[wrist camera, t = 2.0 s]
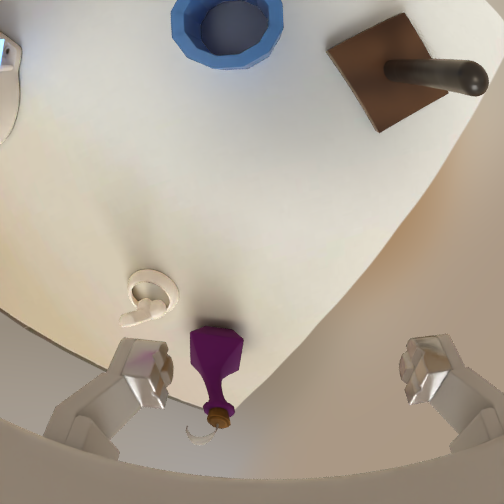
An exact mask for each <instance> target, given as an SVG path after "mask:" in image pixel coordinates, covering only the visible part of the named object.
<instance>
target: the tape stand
mask: <svg viewBox="0 0 504 504" xmlns="http://www.w3.org/2000/svg"><path fill="white" fill-rule="evenodd" d="M326 53H327V54H328V56H329V57H330V59H331V60H332V61H333V63H334V64H335V66H336V67H337V69H338V70H339V72H340V73H341V75H342V76H343V78H344V79H345V81H346V82H347V84H348V85H349V87H350V88H351V90H352V92H353V93H354V95H355V96H356V98H357V100H358V101H359V103H360V105H361V106H362V108H363V110H364V111H365V113H366V115H367V116H368V118H369V120H370V122H371V123H372V125H373V127H374V129H375V130H376V131H377V132H379V133H380V132H382V131H384V130H385V129H387V128H389V127H391V126H392V125H394V124H396V123H397V122H399V121H401V120H403V119H404V118H406V117H408V116H409V115H411V114H413V113H415V112H416V111H418V110H420V109H422V108H423V107H425V106H427V105H429V104H430V103H432V102H434V101H436V100H438V99H439V98H441V97H443V96H445V95H446V94H448V91H452V92H457V93H461V94H465V95H470V96H480V95H482V94H484V93H485V92H486V90H487V88H488V84H489V80H488V75H487V73H486V71H485V70H484V68H483V67H482V66H481V65H479V64H478V63H476V62H474V61H470V60H453V59H432V58H431V57H430V55H429V53H428V51H427V49H426V48H425V46H424V44H423V42H422V40H421V39H420V37H419V35H418V34H417V32H416V30H415V29H414V27H413V25H412V24H411V22H410V21H409V19H408V18H407V16H406V14H405V13H401V14H398V15H396V16H394V17H392V18H389V19H387V20H385V21H383V22H381V23H379V24H377V25H375V26H373V27H371V28H369V29H367V30H365V31H363V32H361V33H359V34H357V35H355V36H353V37H351V38H349V39H347V40H345V41H343V42H342V43H340V44H338V45H336V46H334V47H332V48H331V49H329V50H327V51H326Z"/></svg>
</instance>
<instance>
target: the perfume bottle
mask: <svg viewBox="0 0 504 504" xmlns="http://www.w3.org/2000/svg"><path fill="white" fill-rule="evenodd" d="M243 341H244V340H243V338H242V337H241V336H239V335H238V334H237V333H236V332H235V331H233V330H232V329H226V328H219V327H211V326H204V327H201V328H199V329H196V330H194V331H191V332H190V357H191V364H192V365H193V367H194V368H195V369H196V370H197V371H198V372H199V373H200V374H201V376H202V378H203V380H204V382H205V385H206V388H207V391H208V395H209V402H206V403H205V404H204V405H203V409H204V412H205V413H206V414H207V415H208V417H207V421H208V423H210V424H211V425H212V426H213V427H216V431H217V429H218V428H221V429H222V428H226V427H229V426H230V419H229V417H231V416H232V415H233V414H234V413H235V410H234V406H232V405H231V404H230V403H227V401H226V400H225V399H224V396H223V393H222V387H221V381H222V379H223V378H225V377H226V376H228V375H229V374H232V373H234V372H236V371H238V370H239V366H240V360H241V354H242V348H243ZM187 427H188V426H187ZM216 431H214V432H213V433H211V434H209V435H207V436H203V437H195V436H192V435H191V434H190V433H189V432H188V430H187V428H186V433H187V435H188V438H189V439H190V440H191V442H192V443H193V444H195V445H204V444H207V443H208V442H209V441H210V440H211V439H212V438H213V436H214V434H215V433H216Z"/></svg>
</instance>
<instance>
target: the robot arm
mask: <svg viewBox="0 0 504 504" xmlns="http://www.w3.org/2000/svg"><path fill="white" fill-rule="evenodd" d="M9 50H10V52H9ZM21 55H22V50H21V47H20V46H19V45H17V44H16V43H15V42H13V41H12V40H11V39H9V38H8V37H7V36H5V35H4V34H3V33H1V32H0V144H1V143H2V142H4V140H5V139H6V138H7V137H8V135H9V134H10V132H11V130H12V128H13V125H14V123H15V120H16V116H17V112H18V107H19V95H20V91H19V78H18V70H19V65H20V61H21ZM406 347H407V351H406V352H405V353H403V354H402V356H401V359H400V364H399V371H400V376H401V380H403V381H404V382H405V383H406V384H407V385H406V388H405V393H406V396H407V399H408V403H409V405H411V404H418V403H424V402H430V404H431V405H432V406H433V407H434V408H435V409H436V410H437V411H438V412H439V414H440V415H441V416H442V417H443V418H444V419H445V420H446V421H447V422H448V423H449V424H450V425H451V426H452V427H453V428H454V429H455V431H456V432H457V433H459V435H458V436H457V437H456V438H455V439H454V440H453V441H452V442H451V444H450V450H451V454H448V455H445V456H442V457H438V458H435V459H431V460H427V461H423V462H419V463H414V464H410V465H406V466H401V467H396V468H391V469H385V470H380V471H374V472H368V473H360V474H353V475H345V476H335V477H323V478H308V479H238V478H223V477H211V476H202V475H193V474H185V473H178V472H172V471H166V470H160V469H155V468H149V467H144V466H140V465H135V464H130V463H126V462H122V461H118V458H119V454H120V452H119V450H118V449H117V448H116V447H115V446H114V444H113V443H112V442H111V441H110V439H111V438H112V437H113V436H114V435H115V434H116V433H117V432H118V431H119V430H120V429H121V428H122V427H123V426H124V425H125V424H126V423H127V422H128V421H129V420H130V419H131V418H132V417H133V416H134V415H135V414H136V413H137V412H138V411H139V410H140V409H141V408H142V407H150V408H159V409H164V408H165V405H166V401H167V397H168V394H169V393H168V391H167V389H166V387H167V386H168V385H170V384H171V382H172V378H173V361H172V358H171V357H170V356H169V355H168V354H167V352H168V347H167V344H166V342H162V341H152V340H143V339H134V338H125V337H124V338H123V339H122V340H121V341H120V343H119V345H118V348H117V350H116V352H115V354H114V357H113V359H112V361H111V363H110V366H109V368H108V370H107V372H106V373H101V374H100V375H99V376H97V377H96V378H95V379H93V380H92V381H90V382H89V383H88V384H86V385H85V386H84V387H82V388H81V389H79V390H78V391H77V392H75V393H74V394H73V395H71V396H70V397H68V398H67V399H66V400H64V401H63V402H62V403H60V404H59V405H58V406H56V407H55V410H54V412H53V414H52V416H51V418H50V421H49V423H48V425H47V427H46V430H45V432H44V434H43V436H40V435H38V434H35V433H33V432H31V431H28V430H26V429H24V428H21V427H19V426H17V425H15V424H12V423H10V422H8V421H6V420H4V419H2V418H0V504H504V393H502V392H501V391H500V390H498V389H497V388H496V387H495V386H493V385H492V384H491V383H489V382H488V381H487V380H485V379H484V378H482V377H481V376H480V375H479V374H477V373H476V372H475V371H473V370H472V369H470V368H469V367H465V366H464V364H463V362H462V359H461V357H460V355H459V353H458V351H457V349H456V347H455V345H454V343H453V341H452V339H451V337H450V336H449V335H448V334H442V335H435V336H434V335H433V336H425V337H417V338H410V339H409V340H408V342H407V345H406ZM141 406H142V407H141Z"/></svg>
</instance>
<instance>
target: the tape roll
mask: <svg viewBox="0 0 504 504" xmlns="http://www.w3.org/2000/svg"><path fill="white" fill-rule="evenodd" d="M224 1H238V0H177V2H176V3H175V5H174V7H173V9H172V10H171V30H172V38H173V40H174V41H175V42H176V44H177V45H178V46H179V47H180V49H181V50H182V51H183V53H184V54H185V56H186V57H187V58H189V59H191V60H194V61H196V62H199V63H201V64H203V65H206V66H208V67H210V68H214V69H221V70H233V69H248V68H250V67H252V66H254V65H255V64H257V63H259V62H261V61H262V60H264V59H266V58H268V57H269V55H270V54H271V52H272V50H273V49H274V47H275V45H276V44H277V42H278V40H279V39H280V36H281V34H282V31H283V28H284V25H283V4H282V1H281V0H242V1H245V2H247V3H250V4H252V5H254V6H257V7H258V8H259V9H260V10H261V12H262V13H263V14H264V16H265V17H266V18H267V20H268V28H267V30H266V31H265V33H264V35H263V36H262V38H261V40H260V41H259V43H258V44H256V45H254V46H252V47H250V48H249V49H247V50H245V51H243V52H242V53H240V54H233V55H219V56H217V55H215V54H212V53H211V52H210V51H209V50H208V48H207V47H206V46H205V44H204V43H203V42H202V40H201V23H202V21H203V20H204V18H205V16H206V14H207V13H208V11H209V10H210V9H212V8H214V7H215V6H217V5H219V4H220V3H222V2H224Z"/></svg>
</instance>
